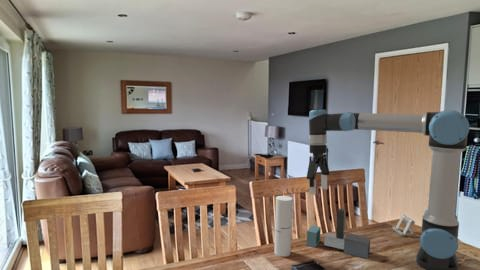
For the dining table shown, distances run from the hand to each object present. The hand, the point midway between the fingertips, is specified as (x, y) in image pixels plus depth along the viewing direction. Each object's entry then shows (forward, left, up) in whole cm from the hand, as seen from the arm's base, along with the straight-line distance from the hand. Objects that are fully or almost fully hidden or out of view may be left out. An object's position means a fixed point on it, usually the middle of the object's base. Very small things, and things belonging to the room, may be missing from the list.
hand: (318, 191), depth 144 cm
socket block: (+3, -6, -27) cm, 28 cm away
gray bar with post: (-12, -6, -26) cm, 29 cm away
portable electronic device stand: (-35, -42, -27) cm, 61 cm away
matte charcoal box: (-17, -6, -27) cm, 32 cm away
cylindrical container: (+12, +11, -27) cm, 32 cm away
